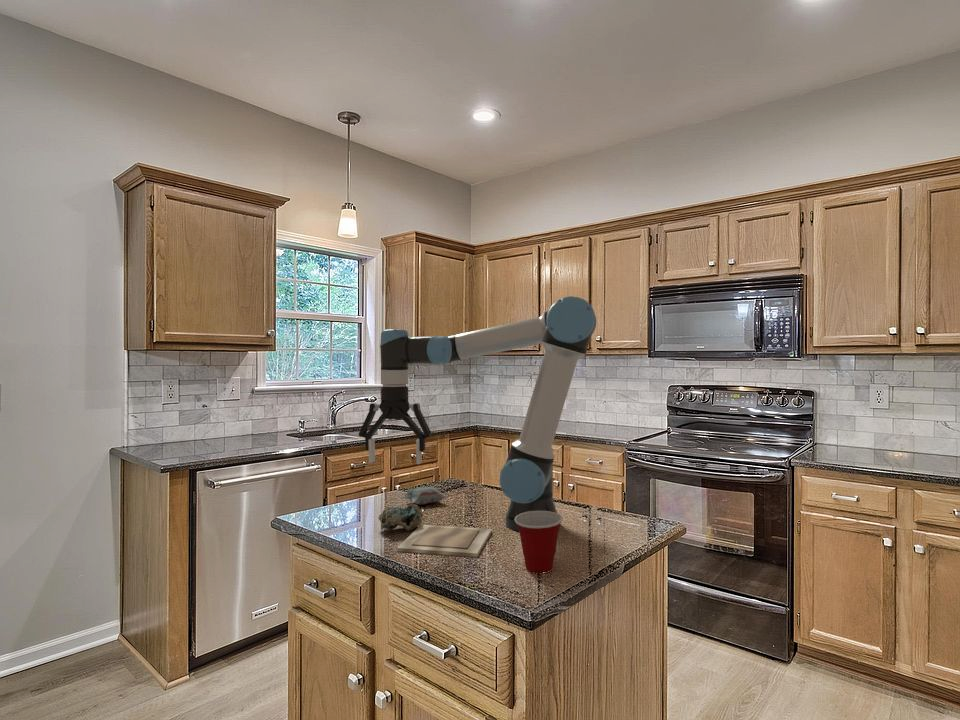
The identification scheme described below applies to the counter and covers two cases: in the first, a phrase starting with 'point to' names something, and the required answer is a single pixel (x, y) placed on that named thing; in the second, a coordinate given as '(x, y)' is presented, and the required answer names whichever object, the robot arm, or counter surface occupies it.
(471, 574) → the counter surface
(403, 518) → the mineral specimen
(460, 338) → the robot arm
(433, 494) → the packaged food
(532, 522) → the plastic cup
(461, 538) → the base plate
